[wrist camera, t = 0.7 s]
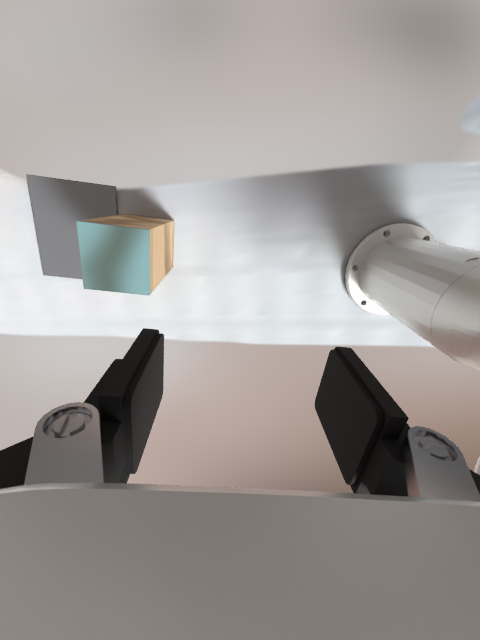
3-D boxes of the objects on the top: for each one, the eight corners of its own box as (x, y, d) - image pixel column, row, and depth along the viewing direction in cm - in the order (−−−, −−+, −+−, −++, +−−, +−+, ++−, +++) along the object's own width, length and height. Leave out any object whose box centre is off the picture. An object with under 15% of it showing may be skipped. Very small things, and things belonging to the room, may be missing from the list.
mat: (115, 186, 33) (114, 186, 32) (121, 282, 37) (120, 283, 37) (28, 174, 32) (26, 174, 31) (45, 274, 36) (43, 274, 36)
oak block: (174, 220, 34) (148, 229, 23) (173, 266, 37) (149, 295, 26) (125, 214, 34) (76, 221, 23) (127, 261, 36) (83, 288, 25)
